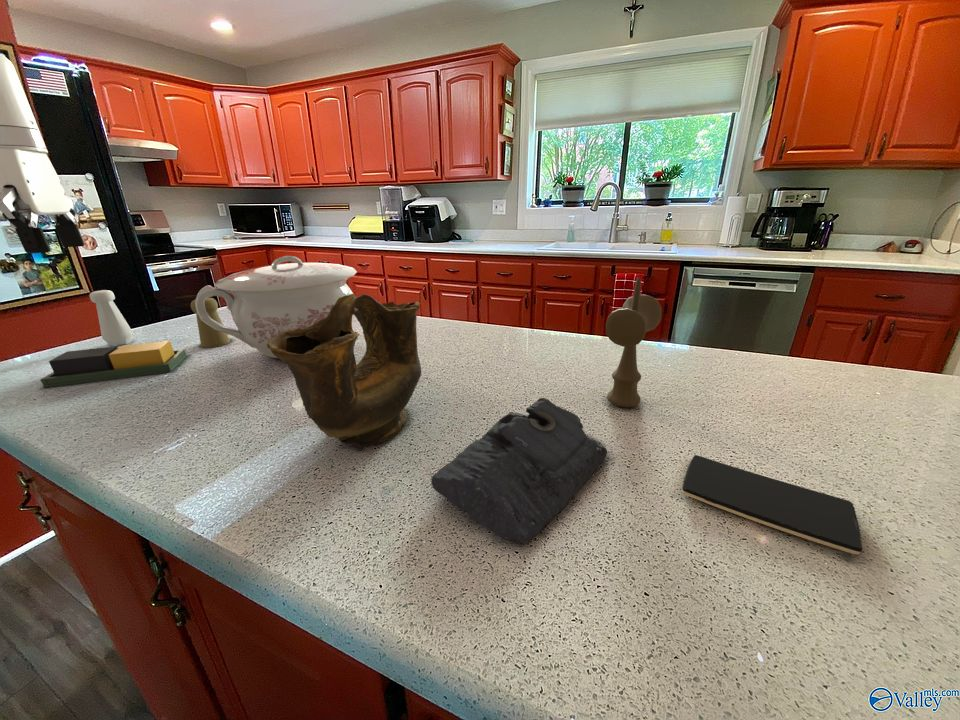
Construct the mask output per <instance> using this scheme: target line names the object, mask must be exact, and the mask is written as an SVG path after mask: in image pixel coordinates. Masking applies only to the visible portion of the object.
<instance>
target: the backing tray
mask: <svg viewBox="0 0 960 720" xmlns="http://www.w3.org/2000/svg"><path fill="white" fill-rule="evenodd" d="M173 351H174V354H175V355H174V356H173V357H172V358H171V359H170V360H168V361H167V362H166V363H165V364H156V365H148V366H140V367H131V368H123V369H114V370H106V371H98V372H89V373H81V374H73V375H64V376H56V375H55V373H54V371H53V372H51V373H49V374H47V375H46V376H43V377H42V378H40V382H41V385H42V386H43V388H53V387H61V386H69V385H76V384H84V383H85V384H86V383H91V382H92V383H93V382H100V381H108V380H116V379H124V378H133V377H139V376H148V375H157V374H164V373H165V374H166V373H171V372H173V370H174V369H175V368H177V366H179V364H180V363H182V362H183V361H184V360H185V359H186V358H187V357H188V354H187V351H186V349H185V348H183V349H182V348H181V349H173Z"/></svg>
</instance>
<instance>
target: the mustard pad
mask: <svg viewBox="0 0 960 720" xmlns="http://www.w3.org/2000/svg"><path fill="white" fill-rule="evenodd" d="M173 350H174V349H173V345H172V343H171V340H163V341H161V340H160V341H153V342H152V341H151V342H143V343H134V344H125V345H120V347H118V349H117V350H115V351H114V352H112V353H110V354H109V357H110V360H111V362H112V364H113V367H114V369H123V368H131V367H140V366H148V365H156V364H165V363H166V362H167V361H168V360H170V359H171V358H172V357H173V356H174V355H175V354H174V351H173Z"/></svg>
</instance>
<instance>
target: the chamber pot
mask: <svg viewBox="0 0 960 720" xmlns="http://www.w3.org/2000/svg"><path fill="white" fill-rule="evenodd" d="M284 262H288V263H284ZM289 262H290V263H289ZM357 273H358V272H357V270H356V269H355V268H354V267H352V266H347V265H343V264H339V263H328V262H303V261H302V259H300V258H298V257H297V256H293V255H283V256H280V257H278V258H275V259H274V260H273V262H272V263H271V265H265V266H260V267H255V268H251V269H245V270H242V271H239V272H234V273H232V274H230V275H227V276H225V277H223V278H220V279H218V280H217V281H216V282H215V284H214V287H213V286H212V285H205V286H204V287H202V288H201V289H200V290H199V291H198V293H197V294H196V297H195V300H196V301H195V306H196V310H197V314H198V315H199V317H200V319H201V320H202V321H203V322H205V323H206V324H208V325H209V326H210V327H212V328H213V329H215V330H217V331H220V332H223V333H226V334H227V335H228V336H232V337H234V338H236V339H238V340H240V341H241V342H243V343H244V344H247V346H249V347H251V348H252V349H253V348H254V349H256V350H257V351H258V352H260V354H262V355H263V356H266V357H269V358H272V359H279V358H278V357H276V356H275V355H274V354H273V353H272V352H271V350H270V348H268V347H267V343H268V341H267V340H268V339H269V338H273V337H275V338H277V337H276V336H278V334H280V333H282V332H285V331H289V330H295V329H298V328H307V327H309V326H311V325H313V324H315V323H317V322H318V321H320V320H321V319H323V318H326V317H327V316H328V315H329V313H330V310H331V308H332V307H333V306H334V305H335V303H336V301H337V300H338V299H339V298H340V297H343V296H347V295H350V294H354V293H353V291H352V290H351V288H350V287H349V286H348V284H347V282H348V281H347V280H348V279H351V278H353V277H354V276H355V275H356V274H357ZM213 297H220V298H223V299H224V301H225V304H226V308H227V310H229V311H230V313H231V317H232V320H233V323H234V324H235V326H236V328H234V327H229V326H226V325H224V324H223V325H221V324H220V323H218V322H217V321H215V320H213V319H212V318H211V317H210V316H209V314H208V313H207V311H206V308H205V299H206V298H213ZM354 320H355V315H354V316H352V324H353V323H354Z"/></svg>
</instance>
